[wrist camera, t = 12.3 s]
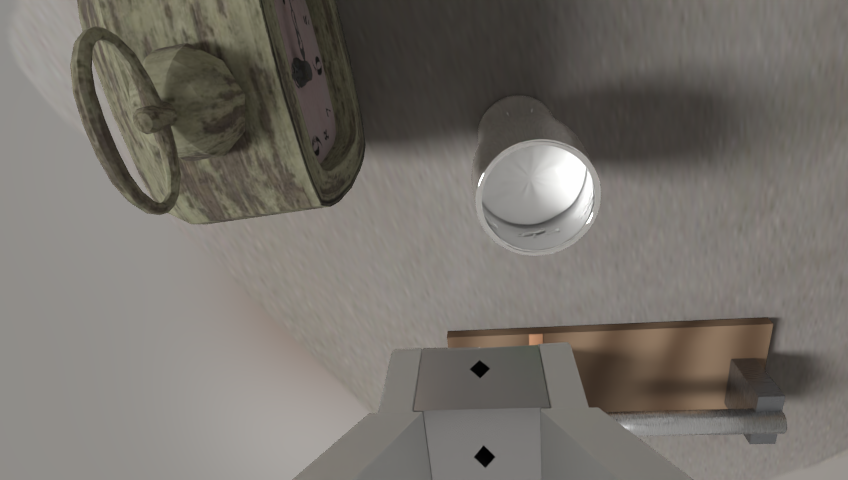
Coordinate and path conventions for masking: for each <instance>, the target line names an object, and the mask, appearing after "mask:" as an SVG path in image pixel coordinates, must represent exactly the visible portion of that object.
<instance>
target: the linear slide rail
mask: <svg viewBox="0 0 848 480" xmlns="http://www.w3.org/2000/svg"><path fill="white" fill-rule="evenodd" d="M784 400H785V395H784V394H783V393H782V392H781V390H780V389H779V388H778V387H777V385H776V384H775V383H774V381H773V380H772V379H771V378H770V376H769V375H768V374H767V373H766V371H765V370H764V369H763V368H762V366H761V365H760V364H759V362H758V361H757V360H756V359H755V358H738V359H731V362H730V368H729V375H728V381H727V387H726V394H725V400H724V404H725V405H726V407H727V408H728V409H704V410H664V411H623V412H605V413H606V414H608V415H609V416H610V417H611V418H613V419H614V420H615V421H617V422H618V423H619V424H621V425H622V426H623V427H625V428H626V429H627V430H629V431H630V432H631V433H633V434H634V435H635V436H681V435H734V434H744V436H745V437H746V439H747V440H748V442H749V444H775V442H776V438H777V434H784V433H785V432H786V430H787V421H786V418H785V415H784V413H783V412H782V409H783V405H784Z"/></svg>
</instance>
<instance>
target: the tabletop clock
mask: <svg viewBox="0 0 848 480" xmlns="http://www.w3.org/2000/svg"><path fill="white" fill-rule="evenodd" d="M77 2H78V10H79V19H80V23H81V27H82V31H83V32H82V33H81V35H80V36H79V37H78V39H77V40H76V41H75V43H74V47H73V53H72V59H71V64H70V67H71V77H72V88H73V94H74V98H75V101H76V104H77V107H78V111H79V114H80V117H81V120H82V124H83V126H84V128H85V131H86V133H87V135H88V138H89V140H90V142H91V144H92V147H93V149H94V151H95V154H96V156H97V158H98V160H99V161H100V163H101V164H102V166H103V168H104V170H105V171H106V173H107V175H108V177H109V179H110V180H111V182H112V184H113V185H114V186H115V187H116V188H117V189H118V190H119V191H120V193H121V194H122V195H123V196H124V197H125V198H126V199H127V200H128V201H129V202H130V203H132V204H133V205H135V206H136V207H138V208H139V209H141V210H143V211H144V212H146V213H149V214H156V215H161V214H164V213H169V214H171V215H173V216H175V217H177V218H179V219H181V220H184V221H186V222H188V223H190V224H212V223H219V222H226V221H233V220H240V219H247V218H254V217H261V216H268V215H275V214H281V213H288V212H295V211H302V210H309V209H316V208H323V207H330V206H332V205H334V204H336V203H338V202H339V201H340V200H341V199H342V198H343V197H344V196H345V194H346V193H347V192H348V191H349V190H350V189H351V188H352V186H353V183H354V181H355V179H356V177H357V175H358V173H359V171H360V169H361V166H362V162H363V159H364V152H365V138H364V130H363V124H362V118H361V112H360V107H359V102H358V97H357V93H356V88H355V83H354V78H353V73H352V68H351V64H350V59H349V54H348V50H347V46H346V42H345V38H344V33H343V29H342V25H341V21H340V17H339V12H338V8H337V4H336V0H77ZM92 60H93V63H94V65H95V68H96V71H97V73H98V76H99V79H100V81H101V84H102V87H103V90H104V92H105V95H106V98H107V100H108V103H109V106H110V108H111V111H112V114H113V116H114V119H115V121H116V123H117V125H118V127H119V130H120V132H121V134H122V136H123V139H124V141H125V143H126V145H127V148H128V150H129V152H130V154H131V157H132V159H133V161H134V163H135V165H136V168H137V170H138V172H139V174H140V177H141V179H142V181H143V183H144V185H145V187H146V189H147V190H148V192H149V194H150V195H151V197H152V198H153V200H154V201H153V200H152V199H151V198H150V197H148V196H147V195H146V194H145V193H143V192H142V190H141V189H140V188H139V186H138V185H137V184H136V182H135V181H134V180H133V178H132V177H131V176H130V174H129V172H128V170H127V168H126V166H125V164H124V162H123V160H122V158H121V156H120V154H119V152H118V150H117V148H116V145H115V143H114V141H113V138H112V136H111V133H110V131H109V129H108V126H107V124H106V121H105V119H104V116H103V113H102V110H101V107H100V104H99V101H98V98H97V95H96V92H95V86H94V80H93V74H92Z"/></svg>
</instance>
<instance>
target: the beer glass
mask: <svg viewBox="0 0 848 480" xmlns="http://www.w3.org/2000/svg"><path fill="white" fill-rule="evenodd" d="M477 139H478V145H479V146H478V148H477V150H476V153H475V155H474V159H473V165H472V175H471V180H472V191H473V196H474V201H475V205H476V212H477V216H478V219H479V221H480V223H481V225H482V227H483V229H484V230H485V232H486V233H487V234H488V236H489V237H490V238H491V239H492V240H493V241H495V242H496V243H497V244H498V245H500V246H501V247H503V248H505V249H507V250H509V251H511V252H514V253H517V254H522V255H529V256H541V255H548V254H552V253H556V252H559V251H561V250H564V249H566V248H568V247H569V246H571V245H573V244H574V243H576V242H577V241H578V240H579V239H581V238H582V237H583V236H584V235H585V234H586V233H587V231H588V230H589V229H590V227H591V226H592V224H593V223H594V221H595V219H596V217H597V214H598V212H599V208H600V204H601V184H600V180H599V176H598V174H597V171H596V169H595V168H594V166H593V164H592V161H591V159H590V157H589V154H588V152H587V151H586V149H585V147H584V146H583V144H582V143H581V141H580V140H579V138H578V137H577V136H576V135H575V134H574V133H573V132H572V131H571V130H570V129H569V128H568V127H567V126H566V125H564V124H563V123H561V122H560V121H558V120H556V119H554V118H553V115H552V114H551V112H550V111H549V109H548V108H547V107H546V106H545V105H544V104H543V103H542V102H540V101H538V100H537V99H535V98H532V97H529V96H523V95H515V96H509V97H506V98H503V99H501V100H499V101H497V102H496V103H494V104H493V105H492V106H491V107H490V108H489V109H488V110H487V111H486V112H485V114H484V115H483V117H482V119H481V121H480V123H479V127H478V133H477Z"/></svg>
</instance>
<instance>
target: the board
mask: <svg viewBox="0 0 848 480" xmlns="http://www.w3.org/2000/svg"><path fill="white" fill-rule="evenodd" d="M772 328H773V323H772V322H771V321H770V320H769V319H768V318H747V319H724V320H701V321H678V322H655V323H632V324H608V325H585V326H562V327H539V328H516V329H493V330H470V331H448V334H447V340H448V348H460V347H480V348H486V347H506V346H526V345H538V344H547V343H561V342H568V343H569V344H570V345H571V348H572V352H573V355H574V359H575V362H576V365H577V369H578V372H579V376H580V379H581V383H582V386H583V389H584V393H585V396H586V400H587V403H588V406H589V408H595V407H598V408H600V409H601V410H602V411H604V412H623V411H664V410H704V409H728V408H727V407H726V405H725V404H724V400H725V394H726V387H727V381H728V375H729V368H730V362H731V359H738V358H755V359H756V360H757V361H758V362H759V364H760V365H761V366H762V368H763V369H764V370H765V365H766V360H767V355H768V349H769V344H770V339H771V334H772Z"/></svg>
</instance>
